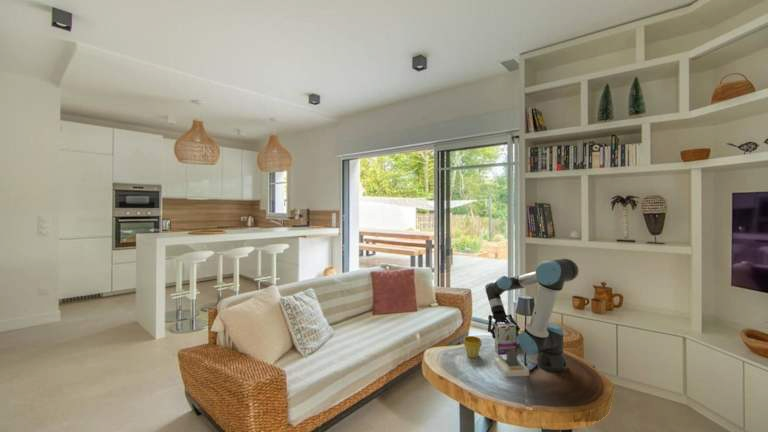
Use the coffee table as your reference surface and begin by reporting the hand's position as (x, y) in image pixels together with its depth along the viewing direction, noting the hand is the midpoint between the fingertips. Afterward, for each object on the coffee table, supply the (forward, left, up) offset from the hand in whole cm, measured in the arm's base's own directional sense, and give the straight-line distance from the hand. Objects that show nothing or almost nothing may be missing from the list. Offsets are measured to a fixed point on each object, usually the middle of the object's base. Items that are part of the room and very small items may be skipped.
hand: (507, 343), depth 185 cm
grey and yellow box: (-12, -28, -13) cm, 33 cm away
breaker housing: (0, +4, -13) cm, 13 cm away
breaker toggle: (0, +5, -9) cm, 11 cm away
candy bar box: (0, -3, -7) cm, 8 cm away
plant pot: (+16, -14, -13) cm, 25 cm away
